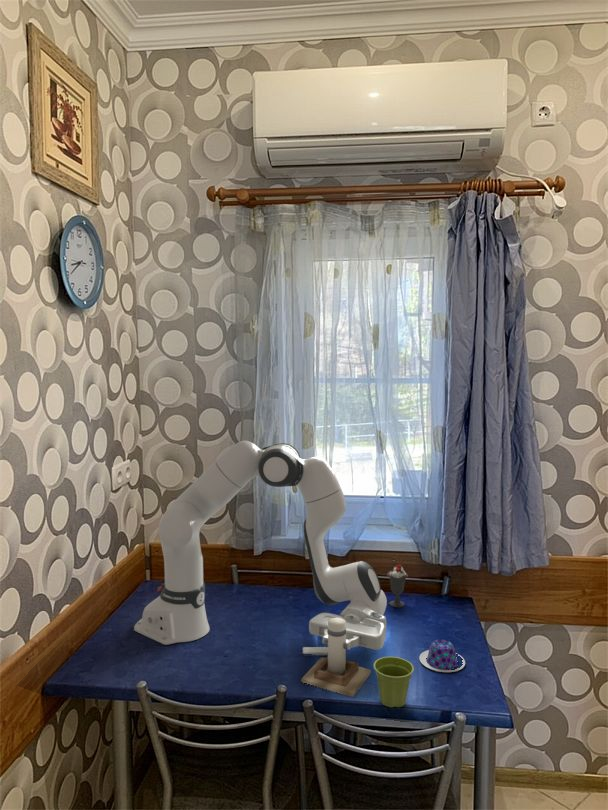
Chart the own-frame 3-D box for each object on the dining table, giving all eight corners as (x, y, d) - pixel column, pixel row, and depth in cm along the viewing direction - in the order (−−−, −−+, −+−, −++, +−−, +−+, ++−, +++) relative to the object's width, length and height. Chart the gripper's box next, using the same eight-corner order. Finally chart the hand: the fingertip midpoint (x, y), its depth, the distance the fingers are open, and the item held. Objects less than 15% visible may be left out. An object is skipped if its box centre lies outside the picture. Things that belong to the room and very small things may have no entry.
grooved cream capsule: (324, 672, 156) (324, 623, 155) (331, 664, 161) (332, 616, 159) (341, 677, 154) (341, 627, 153) (348, 668, 159) (348, 619, 157)
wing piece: (303, 656, 169) (303, 652, 169) (302, 651, 172) (302, 647, 172) (339, 656, 169) (339, 652, 169) (338, 651, 172) (338, 646, 172)
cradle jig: (301, 682, 156) (301, 671, 155) (321, 660, 166) (321, 649, 166) (353, 697, 149) (353, 685, 149) (370, 673, 160) (370, 662, 160)
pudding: (426, 675, 159) (427, 656, 159) (414, 652, 171) (414, 634, 171) (471, 673, 160) (472, 654, 160) (456, 650, 172) (457, 632, 172)
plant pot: (386, 685, 154) (387, 652, 154) (420, 699, 149) (420, 665, 148) (365, 702, 147) (365, 667, 146) (399, 717, 141) (400, 681, 140)
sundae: (397, 610, 197) (398, 565, 195) (382, 603, 202) (383, 559, 200) (411, 605, 201) (412, 560, 199) (396, 598, 206) (397, 554, 204)
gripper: (321, 602, 172) (298, 623, 160) (391, 618, 163) (373, 640, 151) (321, 624, 173) (298, 646, 161) (391, 640, 164) (372, 665, 152)
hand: (335, 643), depth 156 cm, fingers closed on grooved cream capsule, 4 cm apart
